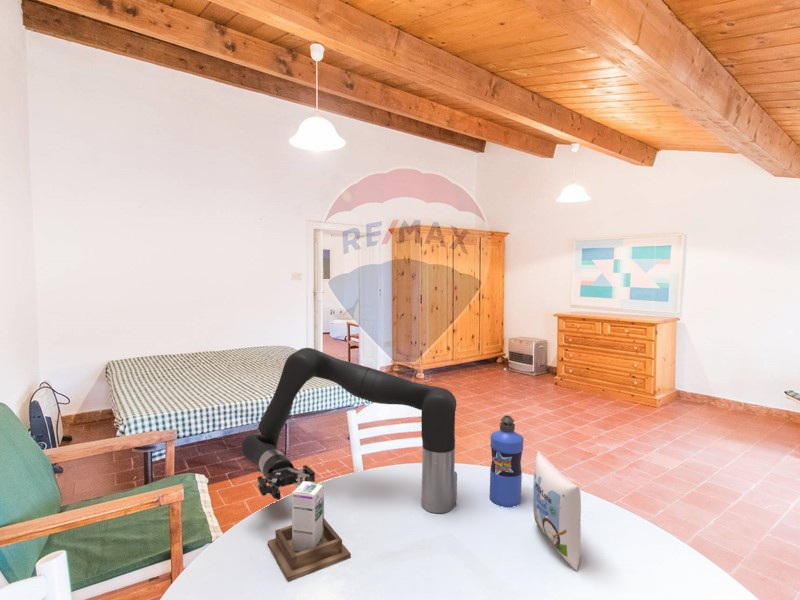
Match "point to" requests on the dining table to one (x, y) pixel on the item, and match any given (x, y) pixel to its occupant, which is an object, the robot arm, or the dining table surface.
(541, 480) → the pouch
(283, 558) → the holder stand
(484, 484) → the dining table surface
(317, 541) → the syrup box
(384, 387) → the robot arm
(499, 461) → the water bottle
